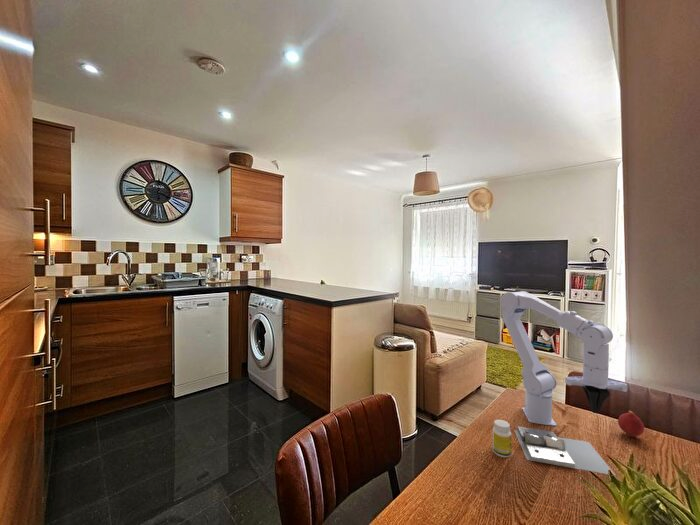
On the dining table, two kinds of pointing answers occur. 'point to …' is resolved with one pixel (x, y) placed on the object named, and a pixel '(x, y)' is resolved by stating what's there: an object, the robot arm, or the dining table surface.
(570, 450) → the mat
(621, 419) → the onion
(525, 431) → the fixed leaf
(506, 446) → the supplement bottle
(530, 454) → the loose leaf
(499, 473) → the dining table surface
